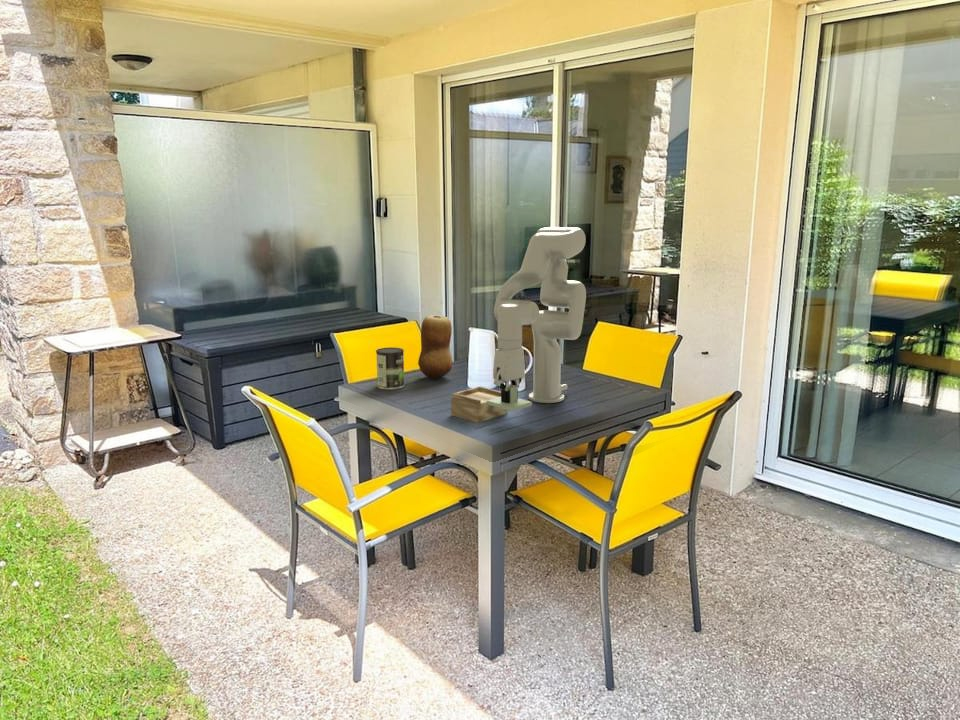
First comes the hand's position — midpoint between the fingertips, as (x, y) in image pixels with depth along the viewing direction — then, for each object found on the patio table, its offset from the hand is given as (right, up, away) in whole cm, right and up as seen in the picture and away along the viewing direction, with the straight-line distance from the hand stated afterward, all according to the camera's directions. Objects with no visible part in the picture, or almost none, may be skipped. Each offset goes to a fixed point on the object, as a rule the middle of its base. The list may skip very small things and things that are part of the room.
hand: (509, 400), depth 222 cm
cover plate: (0, -1, 0) cm, 1 cm away
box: (-10, -5, +11) cm, 15 cm away
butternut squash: (-27, +5, +58) cm, 64 cm away
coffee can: (-43, +3, +46) cm, 63 cm away
